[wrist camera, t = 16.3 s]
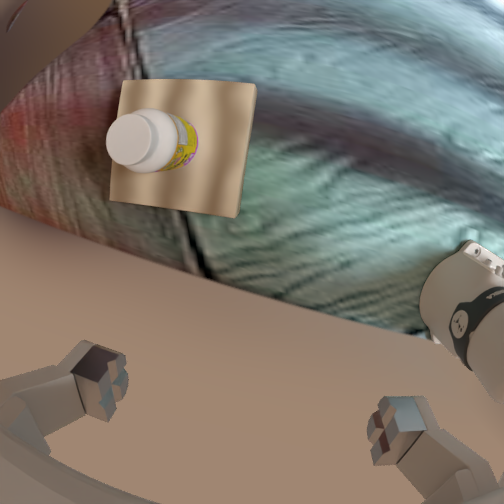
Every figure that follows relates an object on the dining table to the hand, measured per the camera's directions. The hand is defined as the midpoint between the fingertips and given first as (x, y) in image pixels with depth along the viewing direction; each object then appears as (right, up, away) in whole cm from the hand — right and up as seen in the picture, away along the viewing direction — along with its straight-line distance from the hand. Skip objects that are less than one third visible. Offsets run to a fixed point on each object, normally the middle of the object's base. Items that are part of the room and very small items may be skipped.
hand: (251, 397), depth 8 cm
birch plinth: (-9, +19, +31) cm, 37 cm away
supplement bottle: (-9, +18, +27) cm, 34 cm away
